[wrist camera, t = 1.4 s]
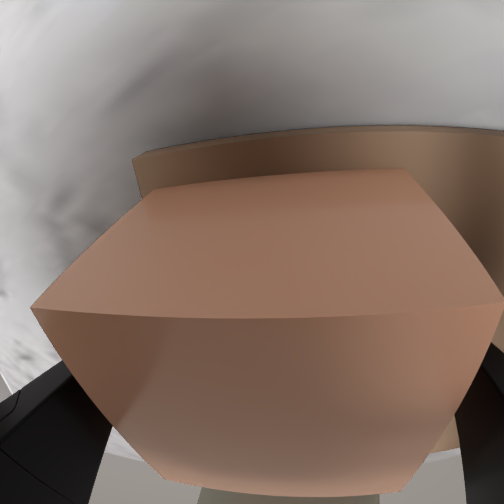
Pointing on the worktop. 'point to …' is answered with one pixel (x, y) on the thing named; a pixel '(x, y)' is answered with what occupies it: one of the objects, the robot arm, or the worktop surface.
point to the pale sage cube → (277, 498)
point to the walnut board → (362, 158)
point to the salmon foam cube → (278, 330)
